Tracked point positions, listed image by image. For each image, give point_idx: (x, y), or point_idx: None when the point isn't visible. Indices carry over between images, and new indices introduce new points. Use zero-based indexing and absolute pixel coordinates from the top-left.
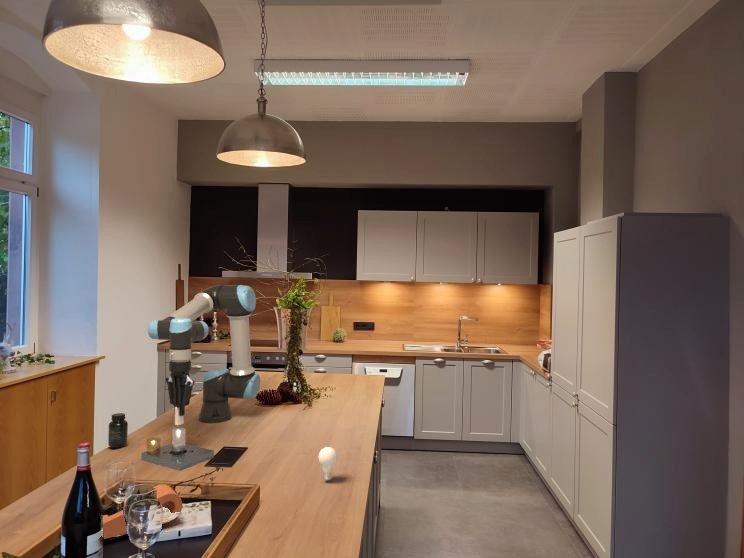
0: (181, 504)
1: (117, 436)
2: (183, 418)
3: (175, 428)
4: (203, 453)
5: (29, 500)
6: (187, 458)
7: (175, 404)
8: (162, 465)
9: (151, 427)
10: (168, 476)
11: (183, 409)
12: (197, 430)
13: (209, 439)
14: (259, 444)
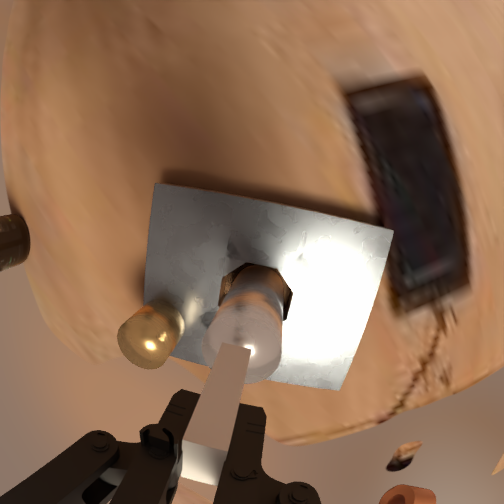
0: (434, 497)
1: (6, 266)
2: (245, 371)
3: (213, 351)
4: (369, 278)
5: None
6: (339, 348)
7: (172, 491)
8: None
9: (8, 79)
10: (328, 412)
11: (259, 457)
12: (121, 4)
13: (220, 39)
14: (438, 43)
